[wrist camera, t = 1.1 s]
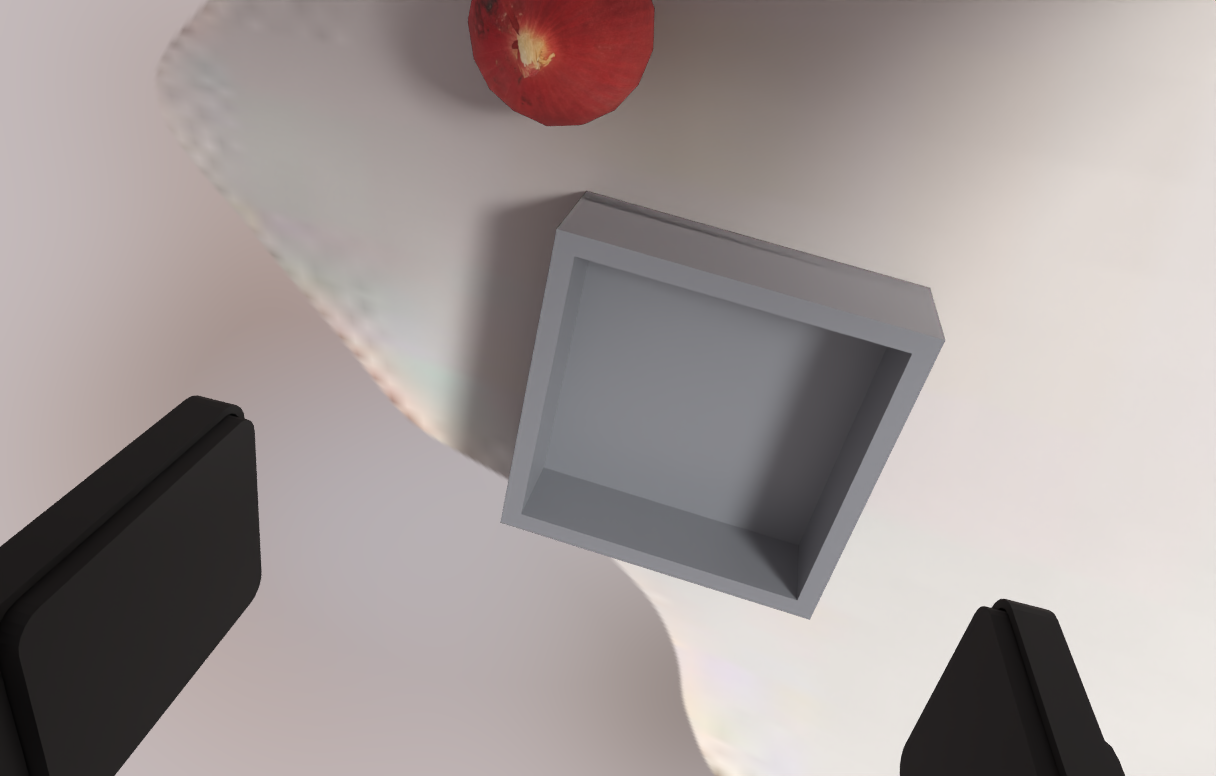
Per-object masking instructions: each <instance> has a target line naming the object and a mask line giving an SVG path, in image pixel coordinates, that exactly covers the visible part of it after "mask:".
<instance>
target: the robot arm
mask: <svg viewBox="0 0 1216 776" xmlns="http://www.w3.org/2000/svg"><path fill="white" fill-rule="evenodd" d="M255 451H256V450H255V431H254V425H253V424H252V422H251V421H249V420H247V419H245V418H244V413H243V411H242V409H241V408H240V407H238V406H237V405H233V404H229V403H225V402H221V401H217V400H213V399H209V398H205V397H201V396H191V397H189V398H188V399H186V400H185V401H183V402H182V403H181V404H179V405H178V406H177V407H176V408H175V409H173V410H172V411H171V412H169V413H168V414H167V415H166V416H164V417H163V418H162V419H161V420H159V421H158V422H157V423H156V424H154V425H153V426H152V427H150V428H149V429H148V430H147V431H145V432H144V433H143V434H142V435H140V436H139V437H138V438H137V439H135V440H134V441H133V442H132V443H130V444H129V445H128V446H127V447H125V448H124V449H123V450H122V451H120V452H119V453H118V454H116V455H115V456H114V457H113V458H112V459H110V460H109V461H108V462H106V463H105V464H104V465H103V466H101V467H100V468H99V469H98V470H96V471H95V472H94V473H93V474H91V475H90V476H89V477H87V478H86V479H85V480H84V481H83V482H81V483H80V484H79V485H77V486H76V487H75V488H74V489H72V490H71V491H70V492H69V493H67V494H66V495H65V496H64V497H62V498H61V499H60V500H59V501H57V502H56V503H55V504H54V505H52V506H51V507H50V508H49V509H47V510H46V511H45V512H43V513H42V514H41V515H40V516H38V517H37V518H36V519H35V520H33V521H32V522H31V523H30V524H28V525H27V526H26V527H25V528H23V529H22V530H21V531H19V532H18V533H17V534H16V535H14V536H13V537H12V538H11V539H9V540H8V541H7V542H6V543H4V544H3V545H2V546H1V547H0V776H115V774H116V773H117V772H118V771H119V769H120V768H121V767H122V766H123V764H124V763H125V762H126V760H127V759H128V758H129V757H130V755H131V754H132V753H133V752H134V750H135V749H136V748H137V746H138V745H139V744H140V742H141V741H142V740H143V739H144V738H145V736H146V735H147V734H148V732H149V731H150V730H151V729H152V727H153V726H154V725H155V724H156V722H157V721H158V720H159V718H160V717H161V716H162V714H163V713H164V712H165V711H166V710H167V708H168V707H169V706H170V705H171V703H172V702H173V701H174V699H175V698H176V697H177V696H178V694H179V693H180V692H181V691H182V689H183V688H184V687H185V686H186V684H187V683H188V682H189V680H190V679H191V678H192V677H193V675H194V674H195V673H196V671H197V670H198V669H199V668H200V666H201V665H202V664H203V662H204V661H205V660H206V659H207V658H208V656H209V655H210V653H211V652H212V651H213V650H214V649H215V647H216V646H217V645H218V644H219V642H220V641H221V640H222V639H223V637H224V636H225V635H226V633H227V632H228V631H229V630H230V628H231V627H232V626H233V625H234V623H235V622H236V621H237V619H238V618H239V617H240V616H241V614H242V613H243V612H244V610H245V609H246V608H247V607H248V606H249V604H250V603H251V602H252V600H253V598H254V597H255V595H256V592H257V590H258V588H259V585H260V580H261V555H260V533H259V513H258V492H257V471H256V452H255ZM900 776H1125V774H1124V772H1123V769H1122V767H1121V764H1120V761H1119V759H1118V757H1117V756H1116V754H1115V752H1114V750H1113V748H1112V747H1111V746H1110V745H1109V744H1108V743H1107V742H1106V741H1105V740H1104V738H1103V735H1102V733H1101V730H1100V728H1099V725H1098V722H1097V720H1096V717H1095V715H1094V712H1093V710H1092V707H1091V704H1090V702H1089V699H1088V697H1087V694H1086V691H1085V689H1084V686H1083V684H1082V681H1081V679H1080V676H1079V673H1078V671H1077V668H1076V666H1075V663H1074V661H1073V658H1072V655H1071V653H1070V650H1069V648H1068V645H1067V642H1066V640H1065V637H1064V635H1063V632H1062V630H1061V627H1060V624H1059V622H1058V620H1057V618H1056V616H1055V614H1054V613H1053V612H1051V611H1050V610H1047V609H1043V608H1039V607H1035V606H1031V605H1027V604H1023V603H1019V602H1015V601H1011V600H1007V599H1000V600H998V601H997V602H996V603H995V604H994V605H993V607H992V608H989V607H985V606H982V607H980V608H979V609H978V610H977V611H976V613H975V614H974V616H973V618H972V620H971V622H970V624H969V626H968V627H967V629H966V631H965V633H964V635H963V637H962V639H961V641H960V642H959V644H958V646H957V648H956V650H955V652H954V654H953V656H952V658H951V659H950V661H949V663H948V665H947V667H946V669H945V671H944V673H943V674H942V676H941V678H940V680H939V682H938V684H937V686H936V688H935V690H934V691H933V693H932V695H931V697H930V699H929V701H928V703H927V705H926V706H925V708H924V710H923V712H922V714H921V716H920V718H919V720H918V721H917V723H916V725H915V727H914V729H913V731H912V733H911V735H910V737H909V738H908V740H907V742H906V744H905V746H904V749H903V752H902V756H901V762H900Z"/></svg>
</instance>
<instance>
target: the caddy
mask: <svg viewBox="0 0 1216 776" xmlns="http://www.w3.org/2000/svg"><path fill="white" fill-rule="evenodd" d="M944 342H945V337H944V334H943V331H942V327H941V324H940V320H939V317H938V313H937V310H936V306H935V303H934V300H933V296H932V293H931V289H930V288H928V287H925V286H921V285H918V284H914V283H911V282H907V281H904V280H900V279H896V278H893V277H889V276H886V275H882V274H879V273H875V272H872V271H868V270H865V269H861V268H857V267H854V266H850V265H847V264H843V263H840V262H836V261H833V260H829V259H826V258H822V257H819V256H815V255H811V254H808V253H804V252H801V251H797V250H794V249H790V248H787V247H783V246H780V245H776V244H773V243H769V242H765V241H762V240H758V239H755V238H751V237H748V236H744V235H741V234H737V233H734V232H730V231H726V230H723V229H719V228H716V227H712V226H709V225H705V224H702V223H698V222H695V221H691V220H688V219H684V218H680V217H677V216H673V215H670V214H666V213H663V212H659V211H656V210H652V209H649V208H645V207H642V206H638V205H634V204H631V203H627V202H624V201H620V200H617V199H613V198H610V197H606V196H603V195H599V194H595V193H592V192H588V191H586V192H585V194H584V195H583V196H582V198H581V199H580V200H579V201H578V203H577V204H576V205H575V206H574V208H573V209H572V210H571V211H570V213H569V214H568V215H567V216H566V218H565V219H564V220H563V222H562V223H561V224H560V225H559V227H558V228H557V230H556V235H555V240H554V246H553V251H552V256H551V261H550V266H549V272H548V277H547V282H546V287H545V293H544V298H543V303H542V308H541V313H540V319H539V324H538V329H537V334H536V340H535V345H534V350H533V355H532V361H531V366H530V371H529V376H528V381H527V387H526V392H525V397H524V402H523V408H522V413H521V418H520V423H519V428H518V434H517V439H516V444H515V449H514V455H513V460H512V465H511V470H510V476H509V481H508V486H507V491H506V497H505V502H504V507H503V512H502V518H501V523H503V524H507V525H510V526H513V527H516V528H520V529H523V530H526V531H529V532H532V533H535V534H538V535H542V536H545V537H548V538H552V539H554V540H558V541H561V542H564V543H567V544H571V545H573V546H577V547H580V548H583V549H586V550H590V551H593V552H596V553H599V554H602V555H605V556H608V557H612V558H615V559H618V560H621V561H624V562H628V563H631V564H634V565H637V566H640V567H644V568H647V569H650V570H653V571H656V572H660V573H663V574H666V575H669V576H672V577H675V578H679V579H682V580H685V581H688V582H691V583H695V584H698V585H701V586H704V587H707V588H711V589H714V590H717V591H720V592H723V593H726V594H730V595H733V596H736V597H739V598H742V599H746V600H749V601H752V602H755V603H758V604H762V605H765V606H768V607H771V608H774V609H777V610H781V611H784V612H787V613H790V614H793V615H797V616H800V617H803V618H806V619H809V620H810V618H811V616H812V614H813V612H814V610H815V608H816V606H817V604H818V602H819V599H820V597H821V595H822V593H823V591H824V589H825V587H826V585H827V583H828V581H829V579H830V577H831V575H832V573H833V571H834V569H835V566H836V564H837V562H838V560H839V558H840V556H841V554H842V552H843V550H844V548H845V546H846V544H847V542H848V540H849V538H850V536H851V534H852V531H853V529H854V527H855V525H856V523H857V521H858V519H859V517H860V515H861V513H862V511H863V509H864V507H865V505H866V503H867V501H868V498H869V496H870V494H871V492H872V490H873V488H874V486H875V484H876V482H877V480H878V478H879V476H880V474H881V472H882V470H883V468H884V466H885V463H886V461H887V459H888V457H889V455H890V453H891V451H892V449H893V447H894V445H895V443H896V441H897V439H898V437H899V435H900V433H901V430H902V428H903V426H904V424H905V422H906V420H907V418H908V416H909V414H910V412H911V410H912V408H913V406H914V404H915V402H916V400H917V398H918V395H919V393H920V391H921V389H922V387H923V385H924V383H925V381H926V379H927V377H928V375H929V373H930V371H931V369H932V367H933V365H934V362H935V360H936V358H937V356H938V354H939V352H940V350H941V348H942V346H943V344H944Z"/></svg>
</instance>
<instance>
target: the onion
mask: <svg viewBox="0 0 1216 776" xmlns="http://www.w3.org/2000/svg"><path fill="white" fill-rule="evenodd" d="M468 25H469V32H470V38H471V44H472V51H473V57H474V60H475V62H476V64H477V66H478V68H479V70H480V71H481V73H482V75H483V77H484V79H485V81H486V83H487V85H488V87H489V89H490V90H491V91H492V92H494V93H495V94H496V95H497V96H498V97H499V98H500V99H501V100H502V101H503V102H505V103H506V104H507V105H508V106H509V107H510V108H511V109H512V110H513V111H515V112H518V113H520V114H522V115H524V116H526V117H529V118H531V119H533V120H535V121H537V122H539V123H541V124H543V125H545V126H568V125H582V124H585V123H588V122H590V121H592V120H594V119H596V118H598V117H601V116H603V115H605V114H607V113H609V112H612V111H614V110H615V109H616V108H617V107H618V106H619V105H620V104H621V103H622V102H623V101H624V100H625V98H626V97H627V96H628V95H629V94H630V93H631V92H632V91H633V90H634V89H635V88H636V87H637V86H638V84H639V82H640V80H641V77H642V75H643V72H644V70H645V68H646V65H647V63H648V60H649V58H650V56H651V53H652V51H653V38H654V6H653V3H652V1H651V0H472V1H471V6H470V12H469V17H468Z"/></svg>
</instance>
